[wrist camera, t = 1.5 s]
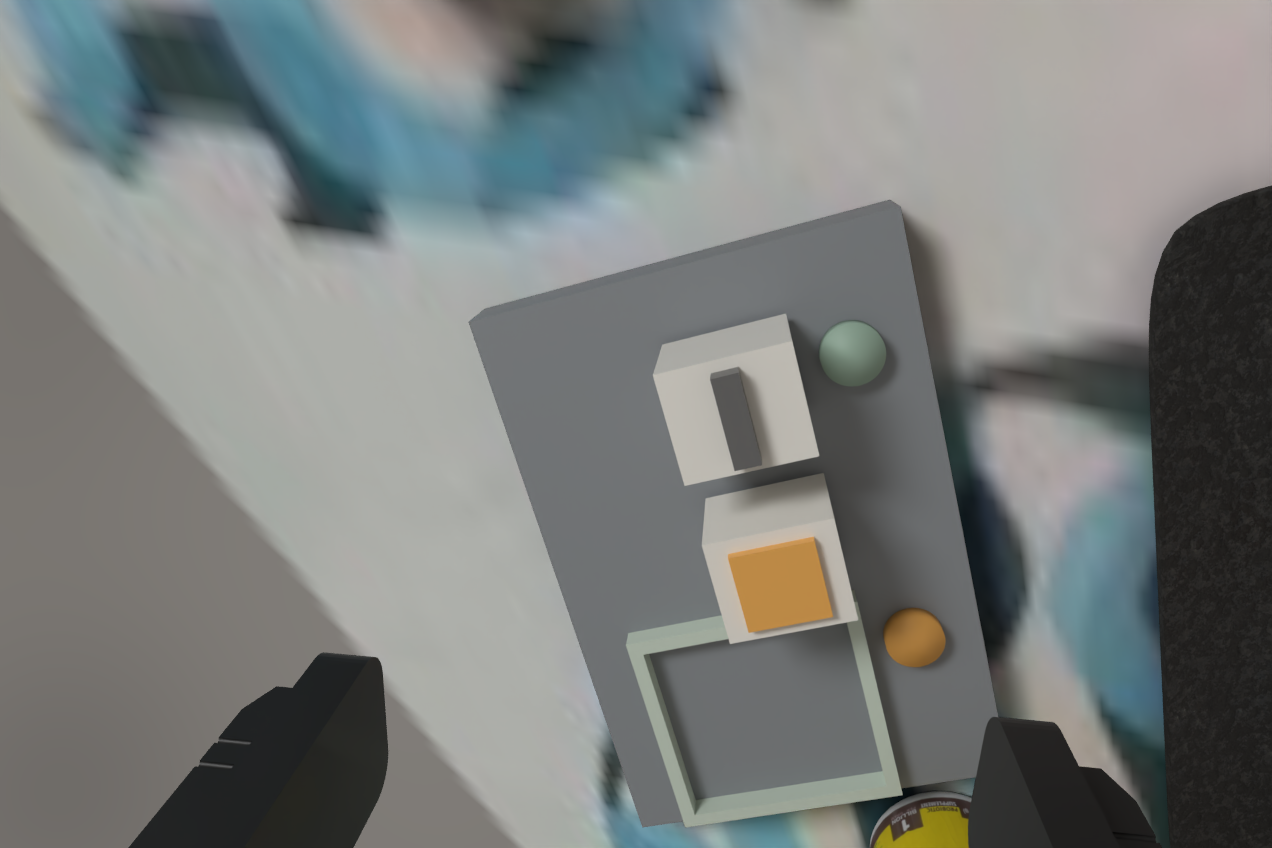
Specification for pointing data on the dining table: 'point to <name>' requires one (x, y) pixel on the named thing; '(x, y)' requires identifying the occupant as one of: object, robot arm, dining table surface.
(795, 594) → the block
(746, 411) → the toggle plain
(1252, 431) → the sushi plate
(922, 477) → the breaker panel
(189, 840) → the robot arm
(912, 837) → the supplement bottle
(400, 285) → the dining table surface
